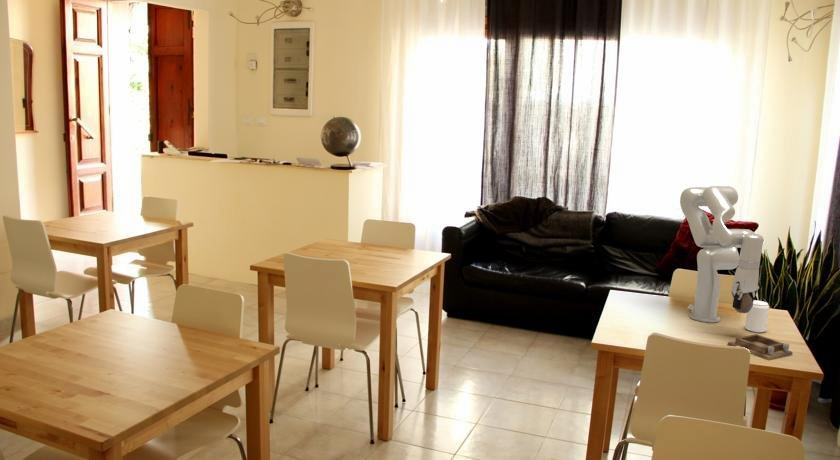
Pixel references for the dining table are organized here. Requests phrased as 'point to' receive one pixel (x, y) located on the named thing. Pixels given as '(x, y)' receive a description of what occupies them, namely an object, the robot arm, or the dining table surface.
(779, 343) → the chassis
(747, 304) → the vase
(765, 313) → the beverage can
